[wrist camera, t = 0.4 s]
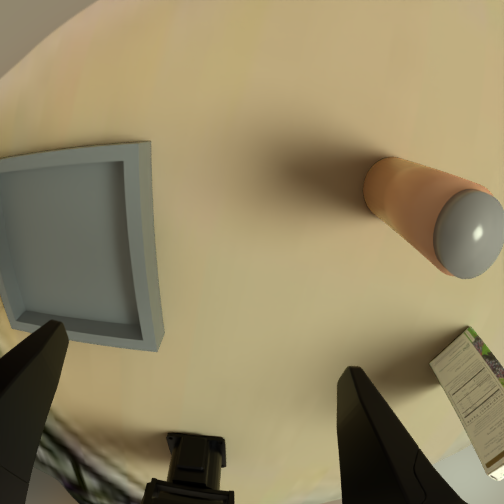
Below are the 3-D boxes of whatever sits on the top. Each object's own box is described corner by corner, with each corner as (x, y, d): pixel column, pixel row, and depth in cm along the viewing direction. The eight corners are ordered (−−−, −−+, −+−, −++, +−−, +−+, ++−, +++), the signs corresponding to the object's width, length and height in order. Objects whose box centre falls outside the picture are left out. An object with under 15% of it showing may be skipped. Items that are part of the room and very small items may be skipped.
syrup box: (484, 349, 27) (550, 441, 13) (445, 384, 28) (498, 484, 15) (469, 324, 25) (548, 428, 12) (425, 364, 27) (486, 479, 14)
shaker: (414, 221, 22) (495, 283, 12) (359, 217, 22) (426, 284, 12) (422, 161, 20) (517, 194, 11) (366, 153, 20) (447, 180, 11)
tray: (164, 333, 25) (157, 351, 23) (24, 314, 25) (11, 328, 23) (151, 141, 20) (138, 143, 17) (-6, 159, 19) (-25, 164, 17)
